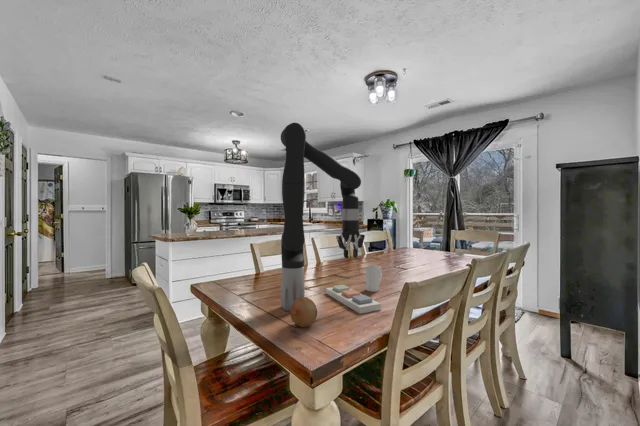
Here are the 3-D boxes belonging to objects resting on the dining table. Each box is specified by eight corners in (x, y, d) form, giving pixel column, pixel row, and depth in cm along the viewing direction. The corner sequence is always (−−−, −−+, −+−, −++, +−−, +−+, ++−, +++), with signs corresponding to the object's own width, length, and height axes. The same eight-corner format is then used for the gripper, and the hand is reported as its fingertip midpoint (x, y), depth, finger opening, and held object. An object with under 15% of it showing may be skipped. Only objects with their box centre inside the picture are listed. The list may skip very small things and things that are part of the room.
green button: (338, 293, 135) (338, 289, 135) (332, 290, 141) (332, 286, 141) (349, 291, 138) (349, 287, 138) (343, 288, 143) (343, 284, 143)
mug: (371, 292, 143) (371, 268, 143) (362, 289, 149) (362, 265, 149) (387, 289, 148) (387, 265, 148) (377, 286, 154) (377, 263, 154)
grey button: (360, 305, 119) (360, 300, 119) (352, 301, 124) (352, 296, 124) (372, 303, 121) (372, 298, 121) (364, 299, 127) (364, 294, 127)
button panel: (359, 313, 115) (359, 307, 115) (326, 293, 143) (326, 288, 143) (380, 309, 120) (380, 303, 120) (344, 290, 147) (344, 285, 147)
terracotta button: (348, 299, 127) (348, 294, 127) (341, 295, 133) (341, 290, 132) (360, 297, 130) (360, 292, 130) (353, 293, 135) (353, 289, 135)
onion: (315, 332, 99) (315, 302, 99) (286, 330, 100) (286, 301, 100) (319, 321, 108) (319, 294, 108) (293, 319, 110) (293, 293, 110)
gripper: (340, 220, 124) (340, 260, 124) (368, 219, 130) (369, 258, 130) (332, 219, 131) (332, 257, 131) (359, 218, 137) (359, 255, 137)
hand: (350, 257), depth 131 cm, fingers open, 3 cm apart
